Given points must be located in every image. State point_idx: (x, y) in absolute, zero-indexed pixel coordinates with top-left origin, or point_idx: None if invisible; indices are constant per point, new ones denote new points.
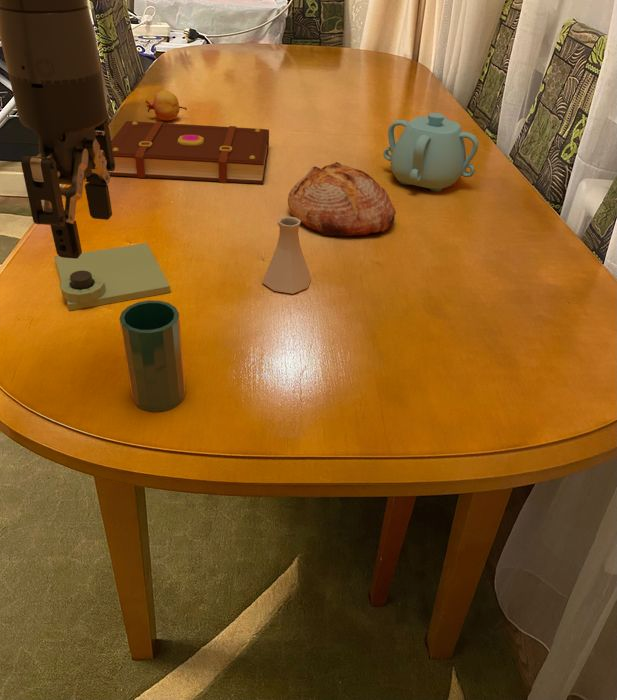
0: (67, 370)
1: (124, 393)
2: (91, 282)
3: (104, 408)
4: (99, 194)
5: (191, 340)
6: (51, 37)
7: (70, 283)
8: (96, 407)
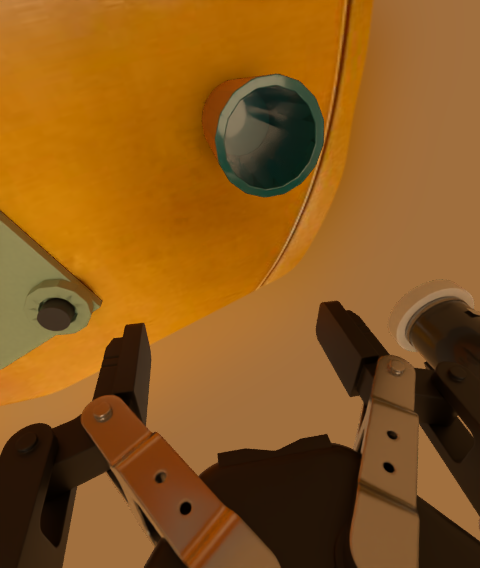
0: (213, 252)
1: None
2: (53, 302)
3: None
4: (139, 384)
5: (98, 108)
6: None
7: None
8: None
